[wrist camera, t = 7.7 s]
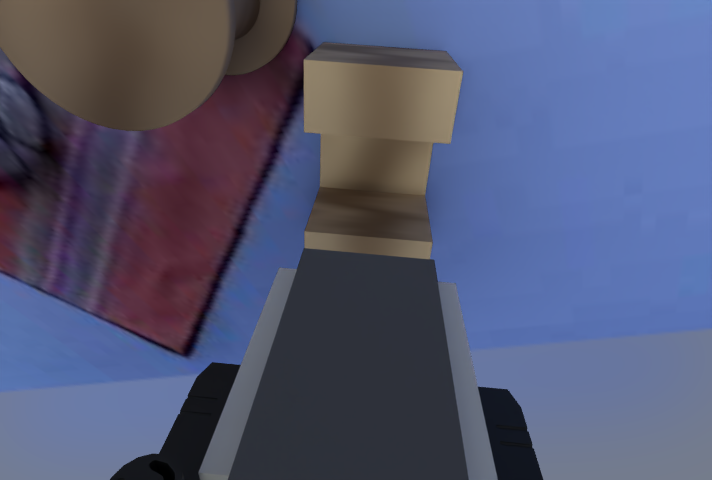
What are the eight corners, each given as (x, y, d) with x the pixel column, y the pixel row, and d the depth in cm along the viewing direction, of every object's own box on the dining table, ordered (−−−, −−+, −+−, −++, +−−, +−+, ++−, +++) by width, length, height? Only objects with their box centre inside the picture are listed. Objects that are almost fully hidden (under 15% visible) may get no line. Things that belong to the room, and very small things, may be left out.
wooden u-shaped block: (320, 225, 31) (304, 279, 25) (323, 42, 24) (303, 59, 19) (417, 233, 30) (424, 290, 25) (445, 51, 24) (463, 71, 19)
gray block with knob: (304, 342, 15) (181, 849, 6) (303, 248, 13) (121, 802, 4) (416, 353, 15) (453, 886, 6) (434, 259, 13) (528, 854, 4)
